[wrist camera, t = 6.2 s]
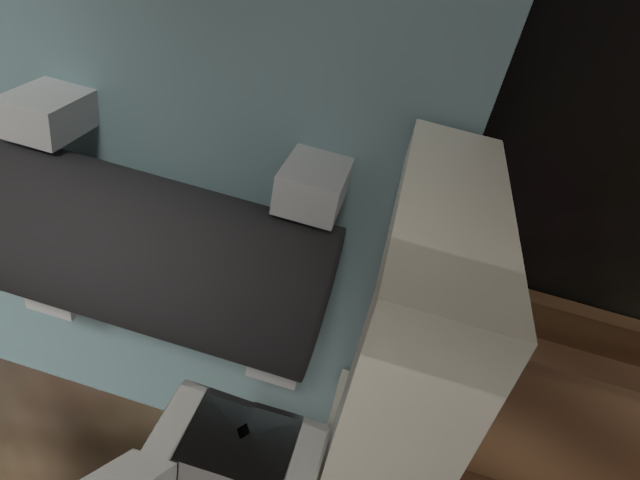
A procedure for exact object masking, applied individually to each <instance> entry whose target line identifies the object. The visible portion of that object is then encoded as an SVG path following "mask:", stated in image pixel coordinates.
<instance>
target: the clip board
mask: <svg viewBox="0 0 640 480" xmlns="http://www.w3.org/2000/svg"><path fill="white" fill-rule="evenodd" d="M532 3H533V0H0V139H3V140H6V141H10V142H13V143H17V144H20V145H24V146H28V147H31V148H35V149H38V150H42V151H45V152H49V153H54V152H56V151H57V150H59V149H64V150H68V151H72V152H75V153H79V154H82V155H86V156H90V157H93V158H97V159H100V160H104V161H107V162H111V163H115V164H118V165H122V166H125V167H129V168H133V169H136V170H140V171H143V172H147V173H150V174H154V175H158V176H161V177H165V178H168V179H172V180H176V181H179V182H183V183H186V184H190V185H194V186H197V187H201V188H204V189H208V190H211V191H215V192H219V193H222V194H226V195H229V196H233V197H237V198H240V199H244V200H247V201H251V202H255V203H258V204H262V205H265V206H269V207H270V211H269V214H271V215H274V216H278V217H281V218H285V219H288V220H292V221H296V222H299V223H303V224H306V225H310V226H313V227H317V228H321V229H324V230H328V231H332V228H333V226H334V225H337V226H341V227H344V228H346V234H345V239H344V244H343V248H342V253H341V257H340V261H339V265H338V269H337V272H336V276H335V280H334V284H333V287H332V291H331V294H330V298H329V302H328V305H327V309H326V312H325V315H324V319H323V322H322V325H321V329H320V332H319V335H318V339H317V342H316V345H315V348H314V351H313V354H312V357H311V360H310V363H309V366H308V369H307V372H306V374H305V377H304V379H303V381H302V383H299V382H296V381H293V380H290V379H286V378H283V377H280V376H277V375H273V374H270V373H267V372H264V371H260V370H257V369H254V368H251V367H247V366H244V365H241V364H238V363H234V362H231V361H228V360H225V359H221V358H218V357H215V356H212V355H208V354H205V353H202V352H199V351H195V350H192V349H189V348H186V347H182V346H179V345H176V344H173V343H169V342H166V341H163V340H160V339H156V338H153V337H150V336H147V335H143V334H140V333H137V332H134V331H130V330H127V329H124V328H121V327H117V326H114V325H111V324H108V323H104V322H101V321H98V320H95V319H91V318H88V317H85V316H82V315H78V314H75V313H72V312H69V311H65V310H62V309H59V308H56V307H52V306H49V305H46V304H43V303H39V302H36V301H33V300H30V299H26V298H23V297H20V296H17V295H13V294H10V293H7V292H4V291H0V358H2V359H5V360H8V361H11V362H14V363H17V364H20V365H24V366H27V367H30V368H33V369H36V370H39V371H42V372H46V373H49V374H52V375H55V376H58V377H61V378H64V379H67V380H71V381H74V382H77V383H80V384H83V385H86V386H89V387H92V388H96V389H99V390H102V391H105V392H108V393H111V394H114V395H117V396H121V397H124V398H127V399H130V400H133V401H136V402H139V403H142V404H146V405H149V406H152V407H155V408H158V409H161V410H165V408H166V407H167V405H168V403H169V402H170V400H171V398H172V396H173V395H174V393H175V391H176V390H177V388H178V386H179V385H180V384H181V383H182V382H183V381H184V380H185V379H187V380H190V381H193V382H196V383H199V384H202V385H205V386H208V387H211V388H214V389H217V390H220V391H223V392H226V393H229V394H232V395H234V396H237V397H240V398H243V399H246V400H249V401H252V402H258V403H262V404H265V405H268V406H272V407H275V408H278V409H282V410H285V411H288V412H292V413H295V414H298V415H302V416H304V417H305V418H309V419H312V420H315V421H319V422H322V423H325V424H327V423H328V419H329V415H330V411H331V407H332V403H333V400H334V396H335V392H336V388H337V385H338V382H339V378H340V375H341V371H342V368H343V369H346V370H349V371H350V368H351V365H352V362H353V358H354V355H355V352H356V349H357V346H358V342H359V339H360V336H361V333H362V329H363V326H364V323H365V320H366V317H367V313H368V310H369V307H370V304H371V300H372V297H373V294H374V291H375V287H376V283H377V278H378V274H379V270H380V265H381V261H382V257H383V252H384V248H385V243H386V239H387V235H388V230H389V226H390V222H391V217H392V213H393V209H394V204H395V200H396V195H397V191H398V187H399V182H400V178H401V174H402V169H403V165H404V160H405V156H406V153H407V150H408V146H409V143H410V140H411V136H412V133H413V129H414V126H415V123H416V119H421V120H425V121H429V122H433V123H436V124H440V125H444V126H448V127H452V128H456V129H460V130H464V131H468V132H471V133H475V134H479V135H483V133H484V130H485V127H486V125H487V122H488V119H489V117H490V114H491V111H492V109H493V106H494V104H495V101H496V98H497V96H498V93H499V90H500V88H501V85H502V82H503V80H504V77H505V74H506V72H507V69H508V67H509V64H510V61H511V59H512V56H513V53H514V51H515V48H516V45H517V43H518V40H519V37H520V35H521V32H522V29H523V27H524V24H525V22H526V19H527V16H528V14H529V11H530V8H531V6H532ZM303 419H304V418H303ZM302 423H303V422H302Z"/></svg>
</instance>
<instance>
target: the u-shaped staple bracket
mask: <svg viewBox="0 0 640 480" xmlns="http://www.w3.org/2000/svg"><path fill="white" fill-rule="evenodd" d="M537 345H538V343H537V337H536V331H535V326H534V320H533V314H532V308H531V302H530V296H529V291H528V285H527V279H526V273H525V267H524V261H523V256H522V250H521V244H520V238H519V232H518V227H517V221H516V215H515V209H514V203H513V197H512V192H511V186H510V180H509V174H508V168H507V162H506V157H505V151H504V145H503V140H499V139H495V138H491V137H487V136H483V135H479V134H475V133H471V132H468V131H464V130H460V129H456V128H452V127H448V126H444V125H440V124H436V123H433V122H429V121H425V120H421V119H416V123H415V126H414V129H413V133H412V136H411V140H410V143H409V146H408V150H407V153H406V156H405V160H404V165H403V169H402V174H401V178H400V182H399V187H398V191H397V195H396V200H395V204H394V209H393V213H392V217H391V222H390V226H389V230H388V235H387V239H386V243H385V248H384V252H383V257H382V261H381V265H380V270H379V274H378V278H377V283H376V287H375V291H374V294H373V297H372V300H371V304H370V307H369V310H368V313H367V317H366V320H365V323H364V326H363V329H362V333H361V336H360V339H359V342H358V346H357V349H356V352H355V355H354V358H353V362H352V365H351V368H350V371H349V370H346V369H343V368H342V371H341V375H340V378H339V382H338V385H337V388H336V392H335V396H334V400H333V403H332V407H331V411H330V415H329V419H328V423H327V424H329V425H330V426H329V433H328V437H327V441H326V445H325V449H324V453H323V457H322V461H321V465H320V469H319V472H318V476H317V480H460V478H461V477H462V475H463V473H464V471H465V470H466V468H467V466H468V465H469V463H470V461H471V459H472V458H473V456H474V454H475V452H476V451H477V449H478V447H479V446H480V444H481V442H482V440H483V439H484V437H485V435H486V433H487V432H488V430H489V428H490V427H491V425H492V423H493V421H494V420H495V418H496V416H497V414H498V413H499V411H500V409H501V408H502V406H503V404H504V402H505V401H506V399H507V397H508V395H509V394H510V392H511V390H512V389H513V387H514V385H515V383H516V382H517V380H518V378H519V376H520V375H521V373H522V371H523V370H524V368H525V366H526V364H527V363H528V361H529V359H530V357H531V356H532V354H533V352H534V351H535V349H536V347H537Z"/></svg>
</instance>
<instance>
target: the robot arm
mask: <svg viewBox="0 0 640 480" xmlns="http://www.w3.org/2000/svg"><path fill="white" fill-rule="evenodd" d="M303 418H304V419H303ZM302 422H303V423H302ZM329 426H330V425H329V424H325V423H322V422H319V421H315V420H312V419H309V418H305V417H304V416H302V415H298V414H295V413H292V412H288V411H285V410H282V409H278V408H275V407H272V406H268V405H265V404H262V403H258V402H252V401H249V400H246V399H243V398H240V397H237V396H234V395H232V394H229V393H226V392H223V391H220V390H217V389H214V388H211V387H208V386H205V385H202V384H199V383H196V382H193V381H190V380H187V379H185V380H184V381H183V382H182V383H181V384H180V385H179V386H178V388H177V390H176V391H175V393H174V395H173V396H172V398H171V400H170V402H169V403H168V405H167V407H166V408H165V410H164V412H163V413H162V415H161V417H160V418H159V420H158V422H157V423H156V425H155V427H154V428H153V430H152V432H151V433H150V435H149V437H148V439H147V440H146V442H145V444H144V445H143V447H142V449H141V450H137V449H134V448H132V449H131V450H129V451H127V452H126V453H124V454H122V455H121V456H119V457H117V458H115V459H114V460H112V461H110V462H109V463H107V464H105V465H103V466H102V467H100V468H98V469H97V470H95V471H93V472H92V473H90V474H88V475H86V476H85V477H83V478H81V479H80V480H317V476H318V472H319V469H320V465H321V461H322V457H323V453H324V449H325V445H326V441H327V437H328V433H329Z"/></svg>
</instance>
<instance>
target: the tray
mask: <svg viewBox="0 0 640 480" xmlns="http://www.w3.org/2000/svg"><path fill="white" fill-rule="evenodd" d="M528 291H529V296H530V302H531V308H532V314H533V320H534V326H535V331H536V337H537V343H538V345H537V347H536V349H535V351H534V352H533V354H532V356H531V357H530V359H529V361H528V363H527V364H526V366H525V368H524V370H523V371H522V373H521V375H520V376H519V378H518V380H517V382H516V383H515V385H514V387H513V389H512V390H511V392H510V394H509V395H508V397H507V399H506V401H505V402H504V404H503V406H502V408H501V409H500V411H499V413H498V414H497V416H496V418H495V420H494V421H493V423H492V425H491V427H490V428H489V430H488V432H487V433H486V435H485V437H484V439H483V440H482V442H481V444H480V446H479V447H478V449H477V451H476V452H475V454H474V456H473V458H472V459H471V461H470V463H469V465H468V466H467V468H466V470H465V471H464V473H463V475H462V477H461V478H460V480H640V320H638V319H635V318H631V317H627V316H624V315H620V314H617V313H613V312H610V311H606V310H602V309H599V308H595V307H592V306H588V305H585V304H581V303H577V302H574V301H570V300H567V299H563V298H560V297H556V296H552V295H549V294H545V293H542V292H538V291H535V290H531V289H528Z"/></svg>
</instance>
